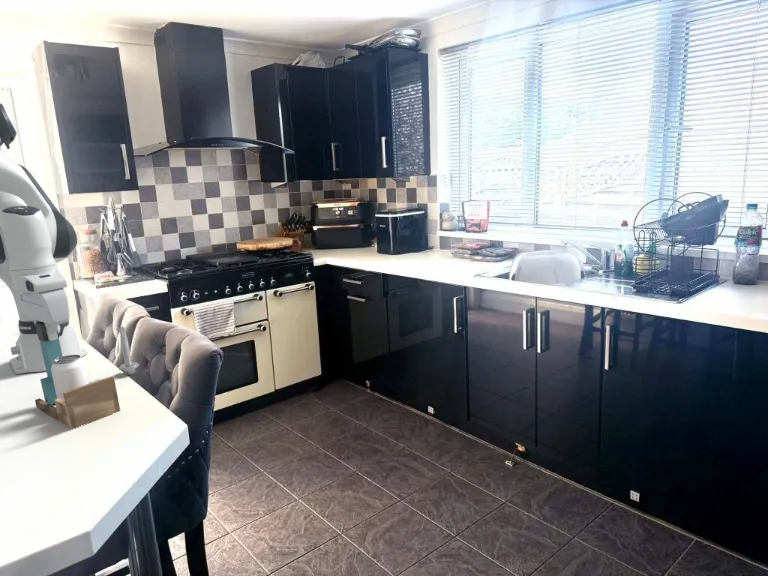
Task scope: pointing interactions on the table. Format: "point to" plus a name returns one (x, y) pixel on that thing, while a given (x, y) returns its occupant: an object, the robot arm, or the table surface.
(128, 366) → the screw
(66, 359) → the can
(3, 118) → the robot arm
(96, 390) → the wooden box
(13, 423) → the table surface
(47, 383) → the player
